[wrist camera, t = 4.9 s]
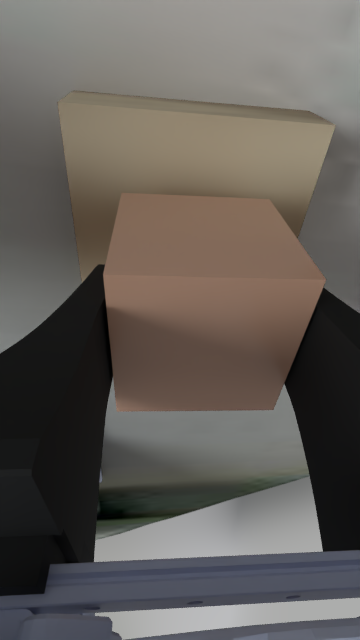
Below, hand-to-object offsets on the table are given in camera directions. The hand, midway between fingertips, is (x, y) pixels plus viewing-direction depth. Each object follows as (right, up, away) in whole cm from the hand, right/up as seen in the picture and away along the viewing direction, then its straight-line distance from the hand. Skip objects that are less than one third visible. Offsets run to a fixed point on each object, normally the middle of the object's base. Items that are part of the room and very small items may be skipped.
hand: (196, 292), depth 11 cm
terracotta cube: (0, +1, +2) cm, 2 cm away
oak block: (0, +4, +5) cm, 7 cm away
